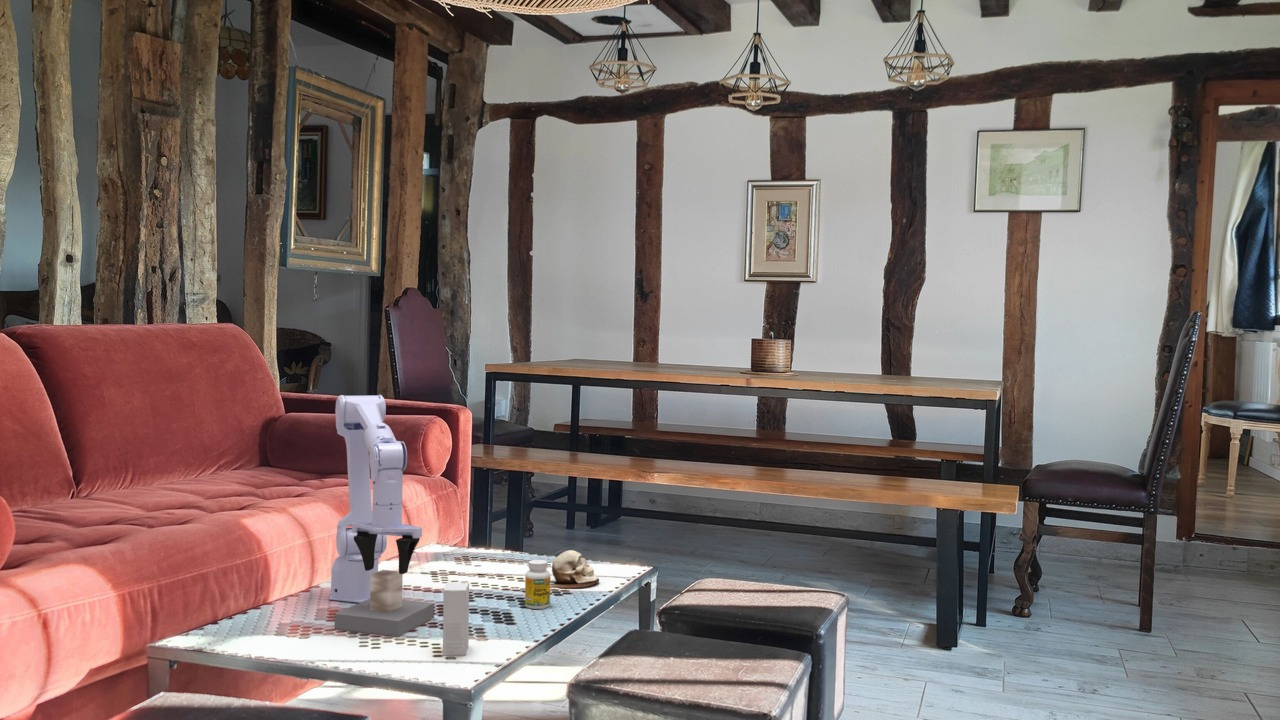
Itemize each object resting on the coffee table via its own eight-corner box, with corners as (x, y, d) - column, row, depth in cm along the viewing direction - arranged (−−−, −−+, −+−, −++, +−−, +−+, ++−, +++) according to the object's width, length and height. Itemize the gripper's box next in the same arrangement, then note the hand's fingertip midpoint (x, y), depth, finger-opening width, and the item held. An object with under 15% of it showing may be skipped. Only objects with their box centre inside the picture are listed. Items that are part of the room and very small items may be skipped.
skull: (604, 573, 246) (600, 547, 239) (596, 610, 239) (592, 585, 232) (556, 568, 248) (550, 543, 241) (546, 605, 241) (540, 580, 234)
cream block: (370, 609, 202) (370, 574, 202) (382, 604, 206) (382, 569, 206) (390, 612, 201) (390, 576, 201) (402, 606, 205) (402, 571, 205)
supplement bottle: (542, 601, 223) (543, 557, 222) (554, 607, 218) (555, 562, 218) (520, 605, 220) (521, 560, 219) (531, 610, 215) (532, 565, 215)
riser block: (334, 629, 199) (334, 613, 199) (373, 611, 212) (373, 596, 212) (398, 636, 195) (398, 621, 195) (434, 617, 208) (434, 603, 208)
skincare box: (445, 645, 190) (446, 581, 189) (468, 645, 190) (469, 581, 190) (441, 656, 184) (443, 589, 183) (465, 656, 184) (467, 589, 184)
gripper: (343, 503, 201) (342, 572, 202) (409, 508, 197) (408, 579, 197) (363, 498, 208) (362, 565, 208) (427, 503, 204) (426, 571, 204)
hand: (386, 571), depth 203 cm, fingers open, 7 cm apart
